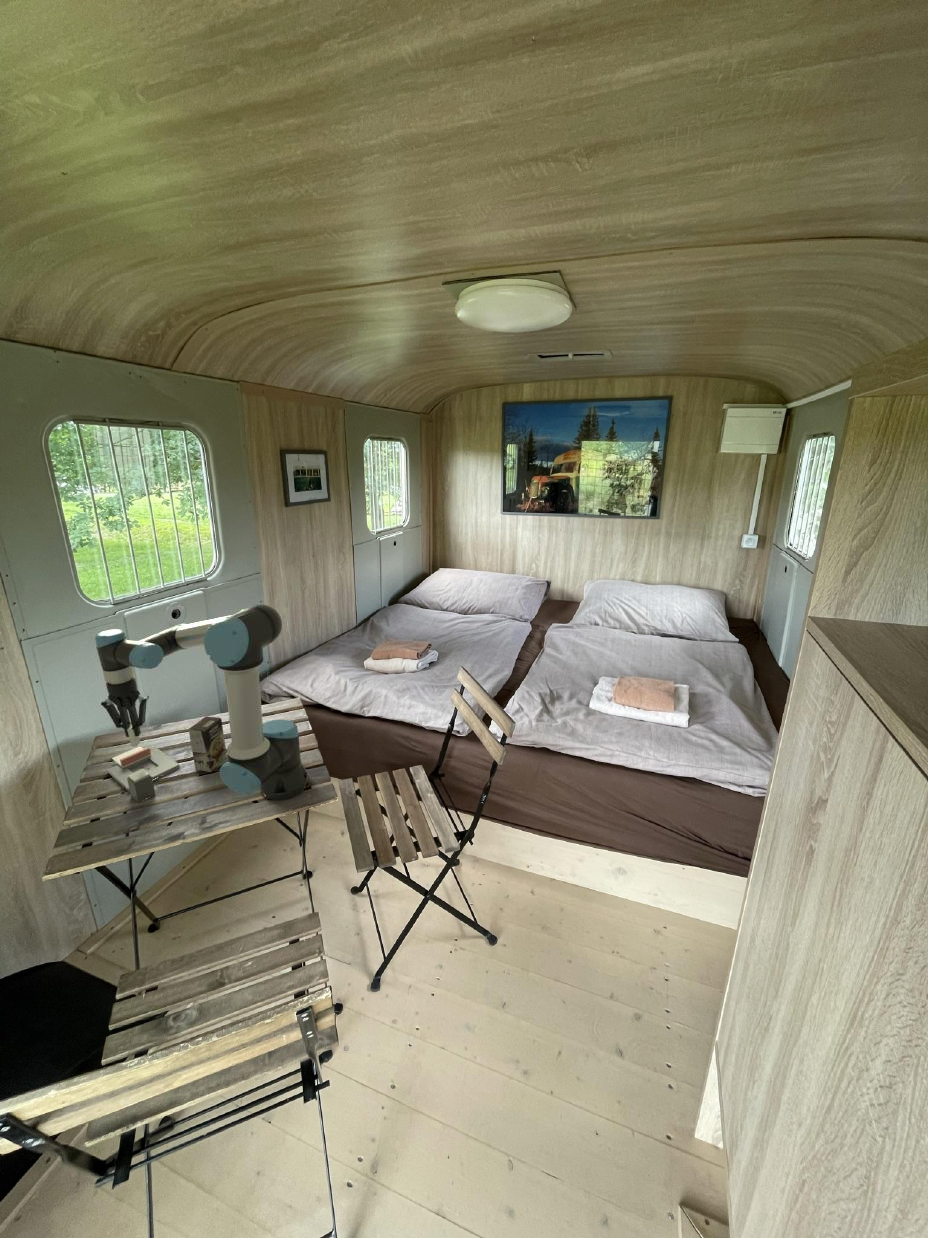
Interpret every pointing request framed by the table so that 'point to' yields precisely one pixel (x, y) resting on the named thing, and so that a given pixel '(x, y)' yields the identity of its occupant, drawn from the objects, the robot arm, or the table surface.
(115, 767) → the socket plate
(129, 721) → the robot arm
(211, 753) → the coffee box
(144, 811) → the table surface
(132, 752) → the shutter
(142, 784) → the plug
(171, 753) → the table surface
